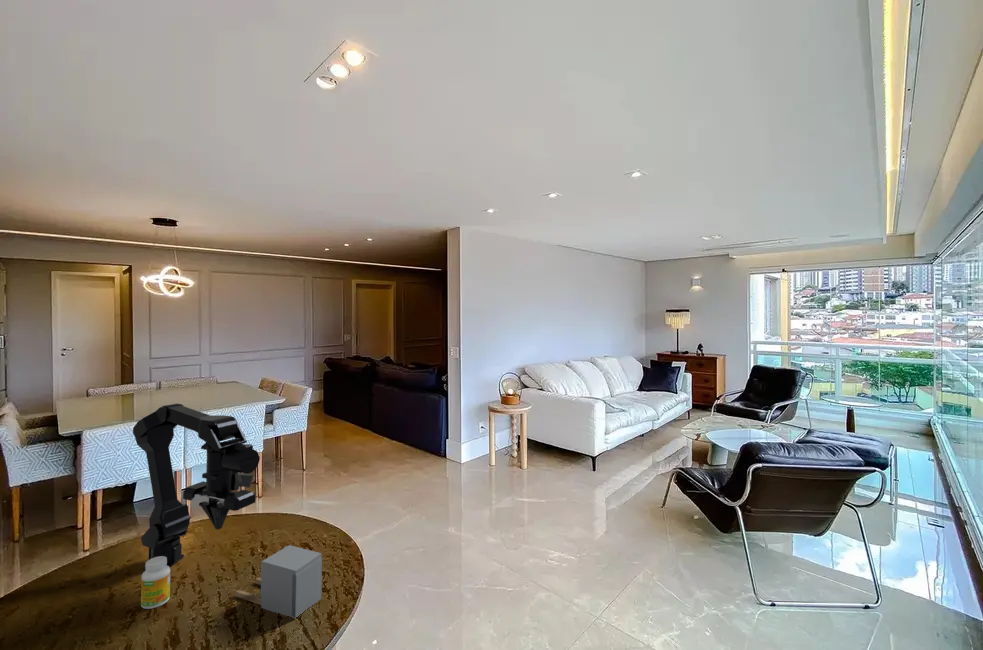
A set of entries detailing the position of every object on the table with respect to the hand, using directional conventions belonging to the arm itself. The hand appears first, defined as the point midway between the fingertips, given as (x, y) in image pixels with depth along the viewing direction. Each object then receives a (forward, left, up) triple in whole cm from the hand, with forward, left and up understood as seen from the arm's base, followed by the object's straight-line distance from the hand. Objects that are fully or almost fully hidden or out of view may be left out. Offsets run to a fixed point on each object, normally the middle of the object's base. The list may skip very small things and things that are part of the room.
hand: (218, 528), depth 111 cm
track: (+14, -5, -13) cm, 19 cm away
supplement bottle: (-9, -9, -13) cm, 18 cm away
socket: (+22, -8, -13) cm, 27 cm away
